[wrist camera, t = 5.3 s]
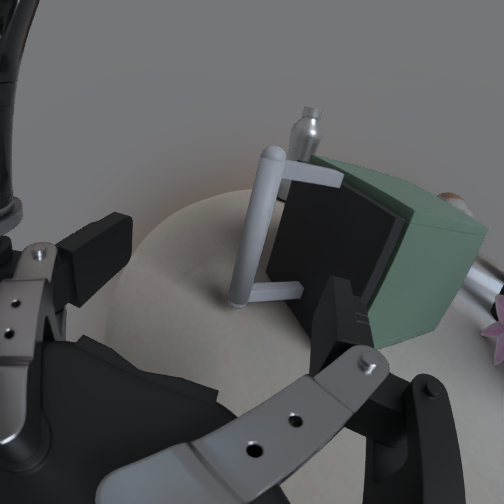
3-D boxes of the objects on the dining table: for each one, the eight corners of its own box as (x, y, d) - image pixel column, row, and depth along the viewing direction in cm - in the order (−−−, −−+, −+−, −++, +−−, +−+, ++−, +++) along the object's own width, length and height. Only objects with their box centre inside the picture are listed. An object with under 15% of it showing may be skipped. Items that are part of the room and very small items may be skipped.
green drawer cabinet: (340, 360, 24) (415, 210, 17) (276, 271, 35) (310, 153, 28) (434, 330, 30) (488, 228, 24) (370, 268, 41) (405, 179, 35)
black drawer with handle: (251, 376, 20) (319, 172, 14) (206, 273, 31) (234, 129, 24) (423, 332, 29) (484, 217, 23) (360, 269, 40) (398, 170, 33)
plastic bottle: (291, 195, 65) (315, 110, 56) (309, 207, 60) (335, 115, 51) (267, 193, 62) (290, 102, 53) (283, 206, 57) (310, 106, 48)
